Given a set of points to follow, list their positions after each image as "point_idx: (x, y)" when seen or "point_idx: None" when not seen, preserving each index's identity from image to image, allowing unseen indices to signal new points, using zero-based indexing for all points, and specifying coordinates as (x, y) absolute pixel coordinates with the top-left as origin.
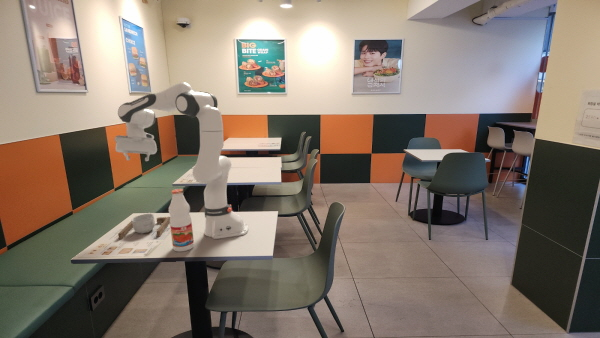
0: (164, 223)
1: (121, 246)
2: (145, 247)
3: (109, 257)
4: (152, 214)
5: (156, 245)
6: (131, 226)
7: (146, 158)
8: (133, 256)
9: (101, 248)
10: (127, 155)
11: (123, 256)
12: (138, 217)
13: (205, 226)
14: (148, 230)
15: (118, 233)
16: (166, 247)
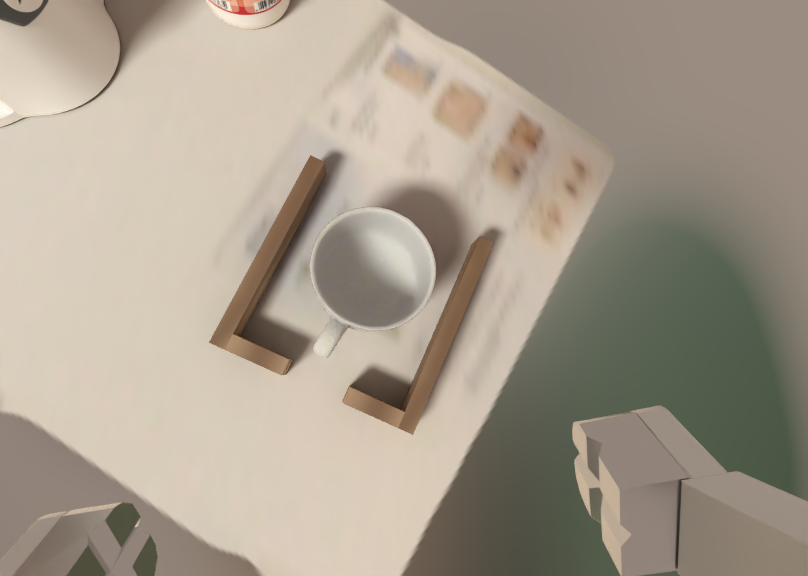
0: (265, 244)
1: (475, 161)
2: (388, 90)
3: (517, 86)
4: (314, 279)
5: (344, 82)
6: (426, 354)
7: (81, 533)
8: (437, 39)
9: (548, 191)
10: (721, 493)
11: (471, 62)
12: (392, 323)
13: (88, 35)
14: (354, 235)
15: (491, 244)
16: (311, 37)
